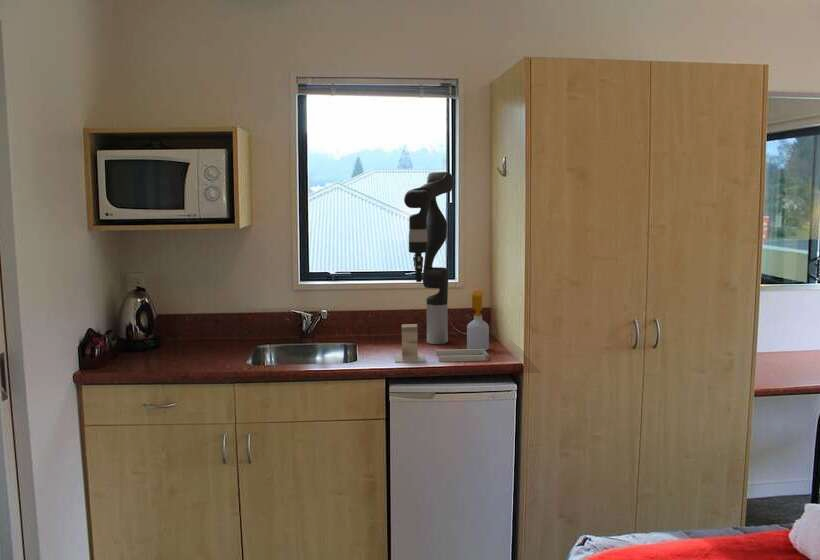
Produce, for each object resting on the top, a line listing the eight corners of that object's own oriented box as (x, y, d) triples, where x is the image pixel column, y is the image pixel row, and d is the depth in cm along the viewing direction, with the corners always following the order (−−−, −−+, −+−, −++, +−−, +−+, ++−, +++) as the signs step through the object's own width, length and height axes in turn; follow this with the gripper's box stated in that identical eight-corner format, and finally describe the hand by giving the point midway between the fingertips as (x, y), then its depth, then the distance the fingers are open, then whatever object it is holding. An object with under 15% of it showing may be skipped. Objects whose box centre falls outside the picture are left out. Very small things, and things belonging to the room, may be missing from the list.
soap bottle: (490, 347, 272) (490, 290, 269) (486, 352, 264) (487, 293, 261) (469, 346, 275) (469, 289, 272) (465, 351, 266) (465, 292, 263)
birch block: (402, 356, 257) (401, 324, 255) (417, 356, 257) (416, 324, 255) (402, 359, 252) (402, 326, 250) (417, 359, 252) (417, 326, 250)
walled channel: (436, 354, 260) (436, 349, 260) (484, 353, 261) (484, 348, 261) (438, 361, 249) (438, 356, 249) (488, 360, 250) (488, 355, 249)
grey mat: (394, 355, 260) (394, 354, 260) (424, 354, 261) (424, 353, 260) (395, 362, 248) (394, 361, 248) (425, 361, 249) (425, 361, 249)
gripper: (428, 241, 250) (428, 282, 252) (426, 239, 264) (426, 278, 266) (409, 241, 250) (409, 283, 252) (408, 239, 264) (408, 278, 266)
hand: (418, 280), depth 259 cm, fingers open, 8 cm apart
